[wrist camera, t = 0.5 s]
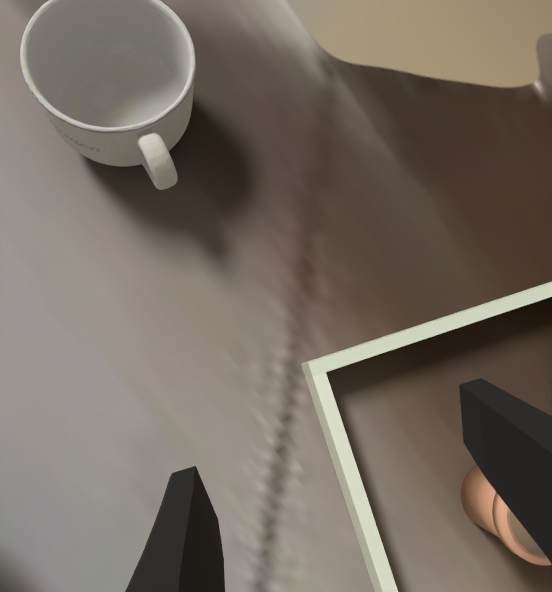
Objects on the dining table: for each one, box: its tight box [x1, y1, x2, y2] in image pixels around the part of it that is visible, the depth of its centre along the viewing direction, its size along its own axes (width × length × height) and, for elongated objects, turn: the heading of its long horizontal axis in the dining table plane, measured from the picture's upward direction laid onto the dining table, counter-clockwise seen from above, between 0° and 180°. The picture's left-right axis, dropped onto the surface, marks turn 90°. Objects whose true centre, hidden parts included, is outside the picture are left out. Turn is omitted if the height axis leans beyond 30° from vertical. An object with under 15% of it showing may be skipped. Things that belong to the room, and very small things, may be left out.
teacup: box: [20, 0, 196, 190], centre depth 35 cm, size 14×11×8 cm
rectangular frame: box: [301, 282, 552, 592], centre depth 37 cm, size 24×24×3 cm
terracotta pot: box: [461, 465, 552, 565], centre depth 35 cm, size 6×6×6 cm
